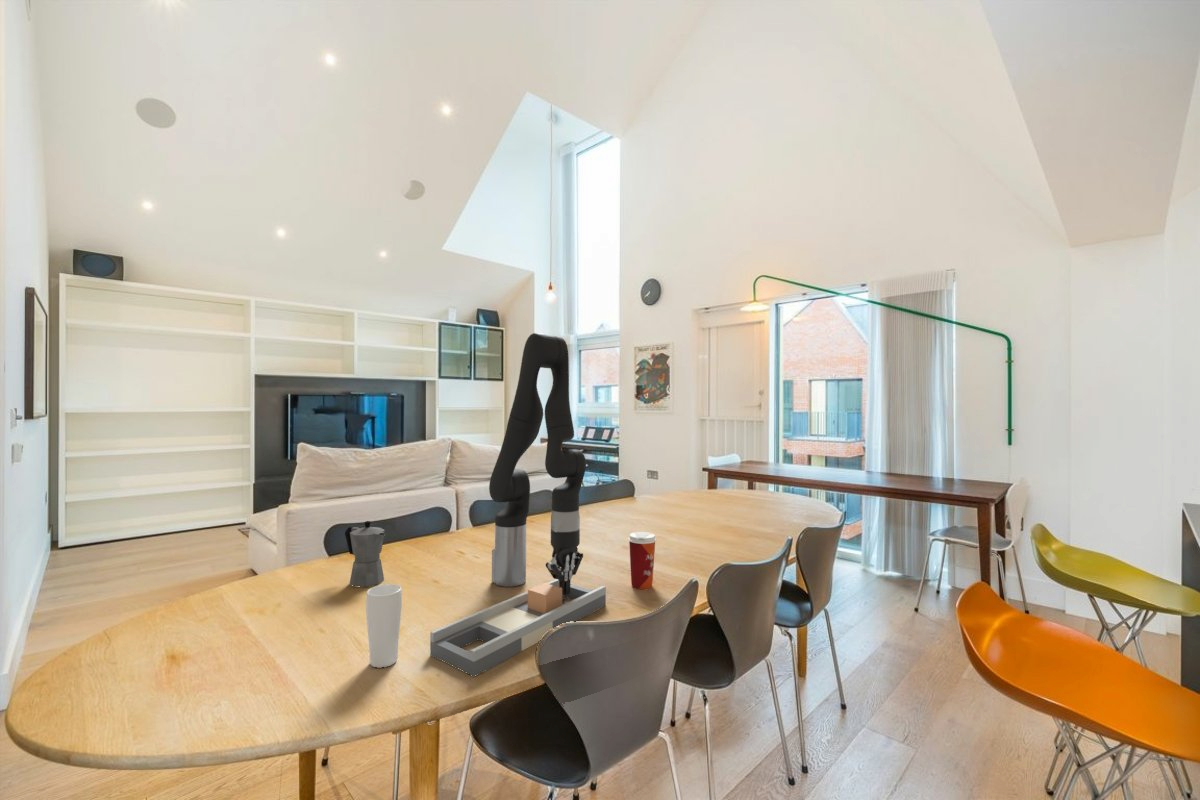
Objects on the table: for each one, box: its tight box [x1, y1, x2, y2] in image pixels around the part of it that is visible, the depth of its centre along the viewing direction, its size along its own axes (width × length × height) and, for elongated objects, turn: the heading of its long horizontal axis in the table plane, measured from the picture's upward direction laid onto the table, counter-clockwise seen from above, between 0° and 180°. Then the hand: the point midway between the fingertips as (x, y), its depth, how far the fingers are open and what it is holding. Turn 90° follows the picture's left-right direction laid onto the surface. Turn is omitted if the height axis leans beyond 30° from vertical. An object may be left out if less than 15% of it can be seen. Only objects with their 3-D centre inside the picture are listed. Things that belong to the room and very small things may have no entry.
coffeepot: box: [344, 520, 386, 588], centre depth 152 cm, size 15×9×18 cm, turn 67°
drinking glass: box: [365, 583, 403, 669], centre depth 106 cm, size 7×7×15 cm
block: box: [527, 582, 563, 614], centre depth 127 cm, size 6×6×4 cm
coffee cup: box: [627, 531, 657, 591], centre depth 150 cm, size 8×8×15 cm
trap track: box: [429, 579, 607, 677], centre depth 122 cm, size 44×14×5 cm, turn 144°
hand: (564, 593), depth 133 cm, fingers closed
